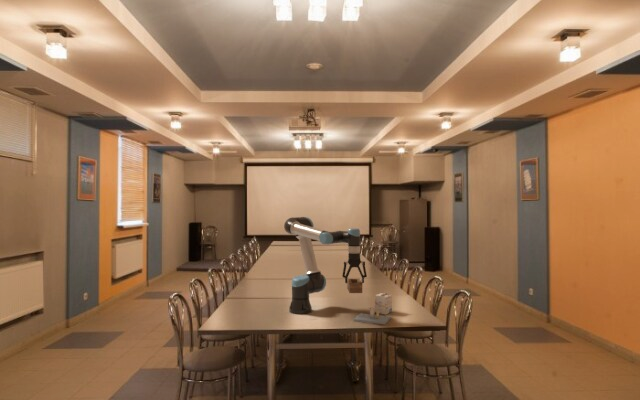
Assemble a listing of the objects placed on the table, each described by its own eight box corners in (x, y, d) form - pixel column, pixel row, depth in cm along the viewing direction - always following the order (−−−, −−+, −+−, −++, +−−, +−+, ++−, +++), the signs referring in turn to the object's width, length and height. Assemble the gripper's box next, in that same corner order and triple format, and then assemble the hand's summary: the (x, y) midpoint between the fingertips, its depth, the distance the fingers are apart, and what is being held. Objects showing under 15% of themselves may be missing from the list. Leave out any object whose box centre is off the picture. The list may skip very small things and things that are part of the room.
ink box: (381, 309, 290) (381, 290, 290) (392, 312, 285) (392, 292, 285) (374, 312, 283) (374, 292, 283) (385, 314, 278) (385, 294, 278)
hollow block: (362, 293, 263) (362, 283, 263) (349, 293, 263) (349, 283, 263) (359, 288, 279) (359, 278, 279) (347, 287, 279) (347, 278, 279)
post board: (353, 320, 264) (353, 309, 264) (360, 315, 277) (360, 304, 277) (385, 324, 256) (385, 312, 256) (390, 318, 269) (390, 307, 269)
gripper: (338, 253, 267) (338, 289, 267) (371, 253, 267) (371, 289, 267) (337, 252, 274) (337, 287, 274) (369, 251, 275) (369, 286, 275)
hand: (354, 288), depth 271 cm, fingers closed on hollow block, 8 cm apart
